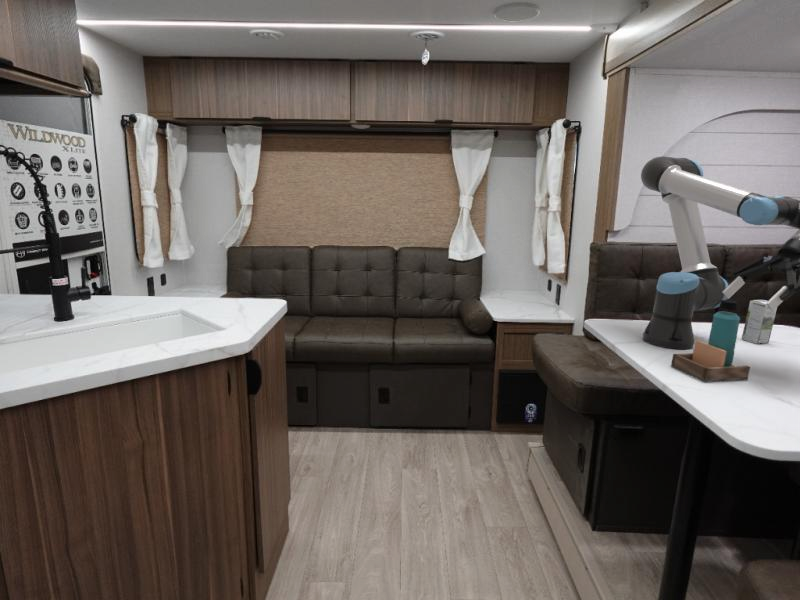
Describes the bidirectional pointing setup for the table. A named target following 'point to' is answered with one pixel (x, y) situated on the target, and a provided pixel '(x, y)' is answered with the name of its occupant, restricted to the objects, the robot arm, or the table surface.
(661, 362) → the table surface
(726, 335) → the beverage bottle
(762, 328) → the syrup box
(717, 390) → the table surface
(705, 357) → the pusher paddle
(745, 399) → the table surface
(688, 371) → the wooden tray
